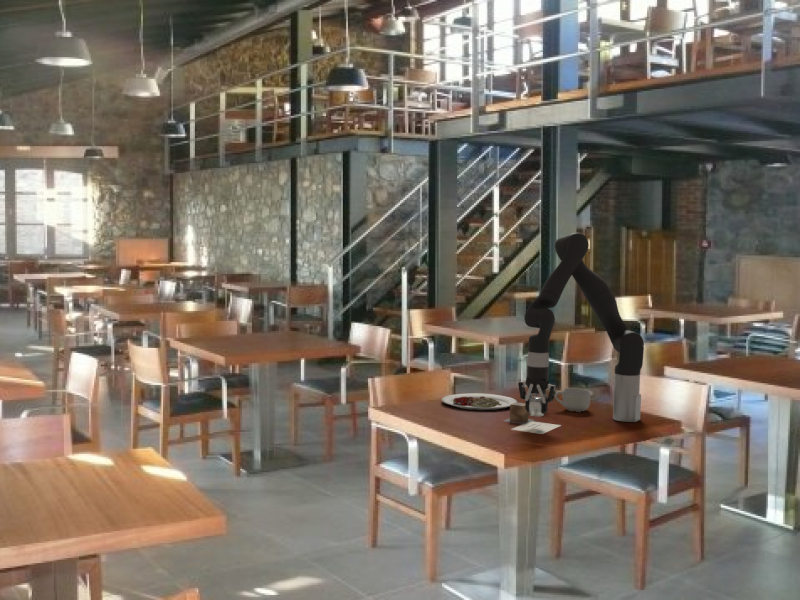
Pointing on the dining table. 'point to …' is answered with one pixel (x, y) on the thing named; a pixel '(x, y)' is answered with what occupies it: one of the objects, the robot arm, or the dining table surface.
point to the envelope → (536, 427)
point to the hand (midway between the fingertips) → (536, 412)
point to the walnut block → (518, 412)
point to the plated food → (478, 401)
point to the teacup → (574, 399)
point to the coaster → (519, 422)
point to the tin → (535, 406)
